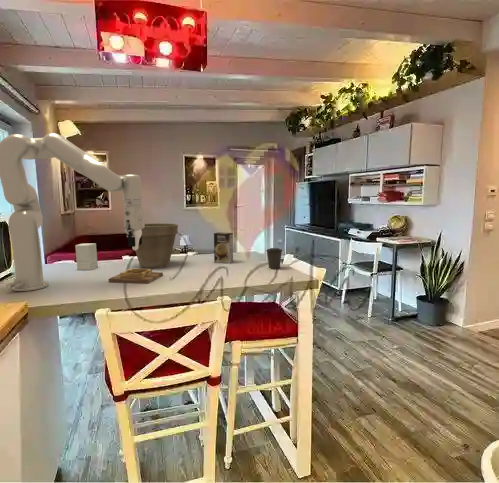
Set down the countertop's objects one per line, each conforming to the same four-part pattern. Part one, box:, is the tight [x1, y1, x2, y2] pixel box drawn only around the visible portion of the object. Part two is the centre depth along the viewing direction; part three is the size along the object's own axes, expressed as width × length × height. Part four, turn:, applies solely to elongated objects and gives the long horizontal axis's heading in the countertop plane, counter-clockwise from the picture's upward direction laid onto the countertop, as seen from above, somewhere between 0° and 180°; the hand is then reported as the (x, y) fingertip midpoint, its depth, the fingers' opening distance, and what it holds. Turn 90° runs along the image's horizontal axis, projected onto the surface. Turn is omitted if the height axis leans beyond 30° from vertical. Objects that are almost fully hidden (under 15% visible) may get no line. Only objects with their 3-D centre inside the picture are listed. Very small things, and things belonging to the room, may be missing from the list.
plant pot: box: [135, 222, 179, 269], centre depth 188 cm, size 25×25×22 cm
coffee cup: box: [266, 247, 283, 270], centre depth 178 cm, size 8×8×10 cm
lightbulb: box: [130, 229, 142, 252], centre depth 157 cm, size 6×6×11 cm
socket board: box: [108, 268, 164, 284], centre depth 159 cm, size 15×18×4 cm
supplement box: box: [74, 242, 98, 271], centre depth 182 cm, size 7×7×13 cm
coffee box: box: [213, 232, 234, 264], centre depth 195 cm, size 9×6×16 cm
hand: (135, 245), depth 157 cm, fingers closed on lightbulb, 5 cm apart
